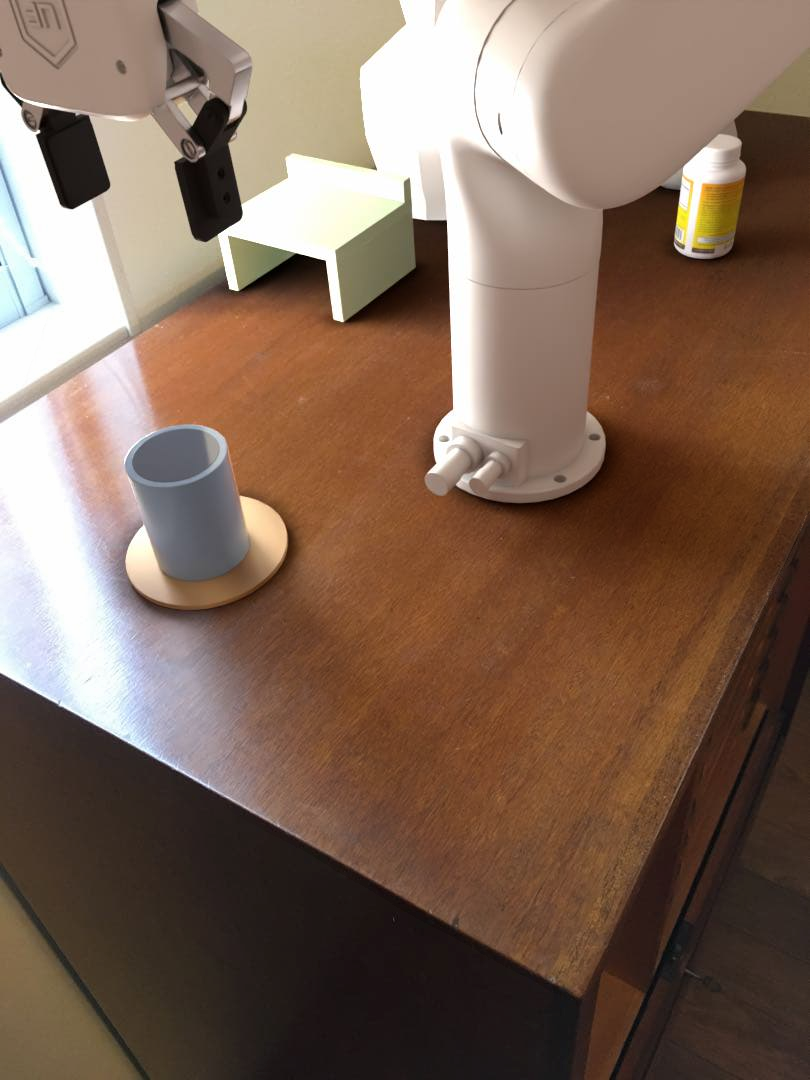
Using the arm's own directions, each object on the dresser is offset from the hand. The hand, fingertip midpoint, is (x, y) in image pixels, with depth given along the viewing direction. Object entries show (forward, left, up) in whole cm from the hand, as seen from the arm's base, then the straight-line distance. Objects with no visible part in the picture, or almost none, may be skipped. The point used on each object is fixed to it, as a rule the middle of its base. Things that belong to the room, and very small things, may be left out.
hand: (150, 213), depth 49 cm
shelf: (+33, +18, -23) cm, 44 cm away
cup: (-2, +1, -23) cm, 23 cm away
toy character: (+70, -4, -23) cm, 74 cm away
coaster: (-2, +1, -23) cm, 23 cm away
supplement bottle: (+55, -12, -23) cm, 61 cm away
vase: (+52, +17, -23) cm, 59 cm away
